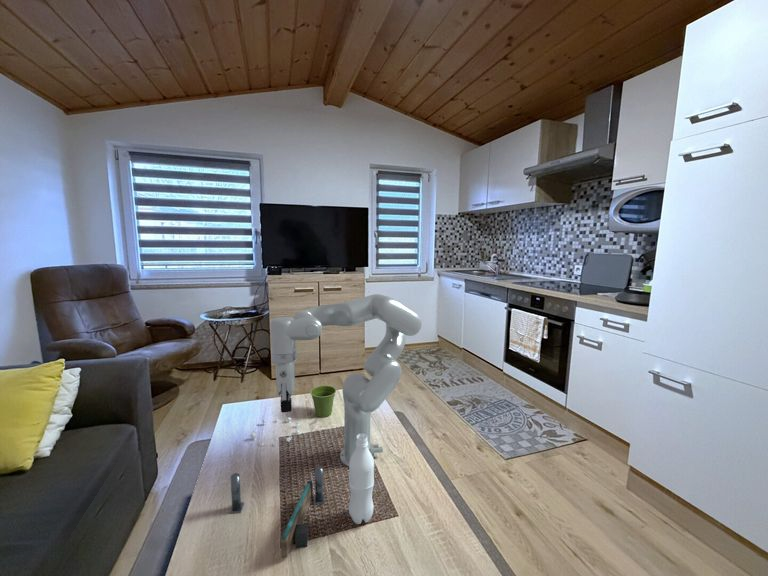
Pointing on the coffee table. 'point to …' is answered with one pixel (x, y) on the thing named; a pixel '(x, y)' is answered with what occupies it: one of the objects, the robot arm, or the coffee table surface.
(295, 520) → the gate
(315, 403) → the plant pot
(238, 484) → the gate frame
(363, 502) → the water bottle
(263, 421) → the scattered white fragments
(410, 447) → the coffee table surface
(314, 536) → the coffee table surface
